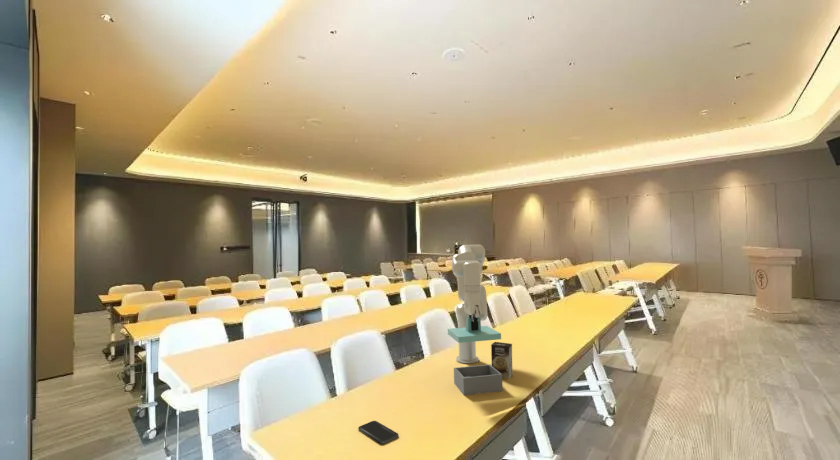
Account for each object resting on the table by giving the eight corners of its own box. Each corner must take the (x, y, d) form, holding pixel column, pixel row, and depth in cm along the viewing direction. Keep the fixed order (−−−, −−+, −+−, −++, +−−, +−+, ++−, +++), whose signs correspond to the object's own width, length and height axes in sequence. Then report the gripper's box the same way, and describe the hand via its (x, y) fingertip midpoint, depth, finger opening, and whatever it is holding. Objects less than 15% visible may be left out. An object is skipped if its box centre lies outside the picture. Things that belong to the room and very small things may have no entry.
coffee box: (491, 377, 183) (490, 344, 184) (495, 373, 189) (494, 341, 189) (509, 380, 179) (508, 346, 180) (513, 376, 185) (512, 343, 185)
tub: (454, 385, 175) (453, 367, 175) (490, 381, 178) (489, 364, 179) (463, 397, 161) (463, 378, 161) (502, 392, 165) (502, 374, 165)
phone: (381, 443, 124) (357, 427, 135) (381, 446, 124) (357, 430, 135) (400, 434, 130) (375, 419, 141) (400, 437, 129) (375, 422, 141)
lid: (447, 334, 176) (447, 316, 176) (487, 331, 180) (486, 313, 180) (458, 342, 160) (458, 323, 161) (501, 339, 165) (500, 319, 165)
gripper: (458, 287, 178) (459, 326, 178) (470, 291, 162) (472, 334, 162) (473, 286, 180) (474, 324, 179) (487, 290, 164) (488, 332, 163)
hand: (473, 328), depth 170 cm, fingers closed on lid, 3 cm apart
